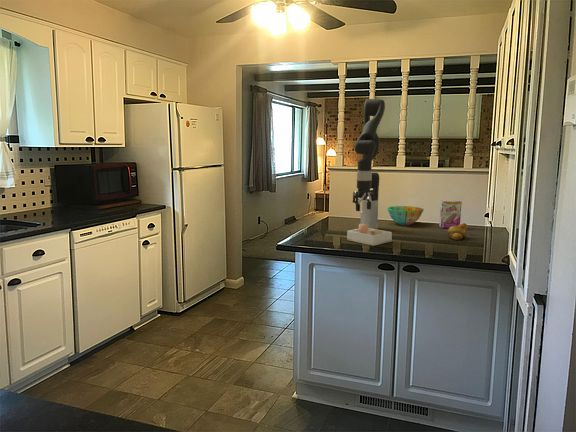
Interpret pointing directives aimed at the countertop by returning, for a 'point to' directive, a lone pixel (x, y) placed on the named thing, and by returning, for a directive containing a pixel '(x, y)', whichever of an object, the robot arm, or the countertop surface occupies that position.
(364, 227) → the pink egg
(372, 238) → the tote
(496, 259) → the countertop surface
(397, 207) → the bowl
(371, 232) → the birch cube
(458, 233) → the bread roll
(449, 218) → the candy bar box
